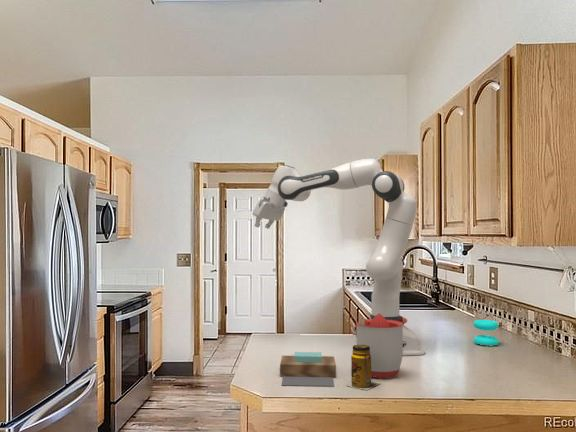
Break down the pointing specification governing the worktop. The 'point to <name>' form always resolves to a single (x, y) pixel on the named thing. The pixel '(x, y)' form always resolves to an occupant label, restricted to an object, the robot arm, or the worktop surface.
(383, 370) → the citrus juicer
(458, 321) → the worktop surface
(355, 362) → the condiment
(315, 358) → the block
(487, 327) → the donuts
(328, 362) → the board
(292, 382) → the mat
